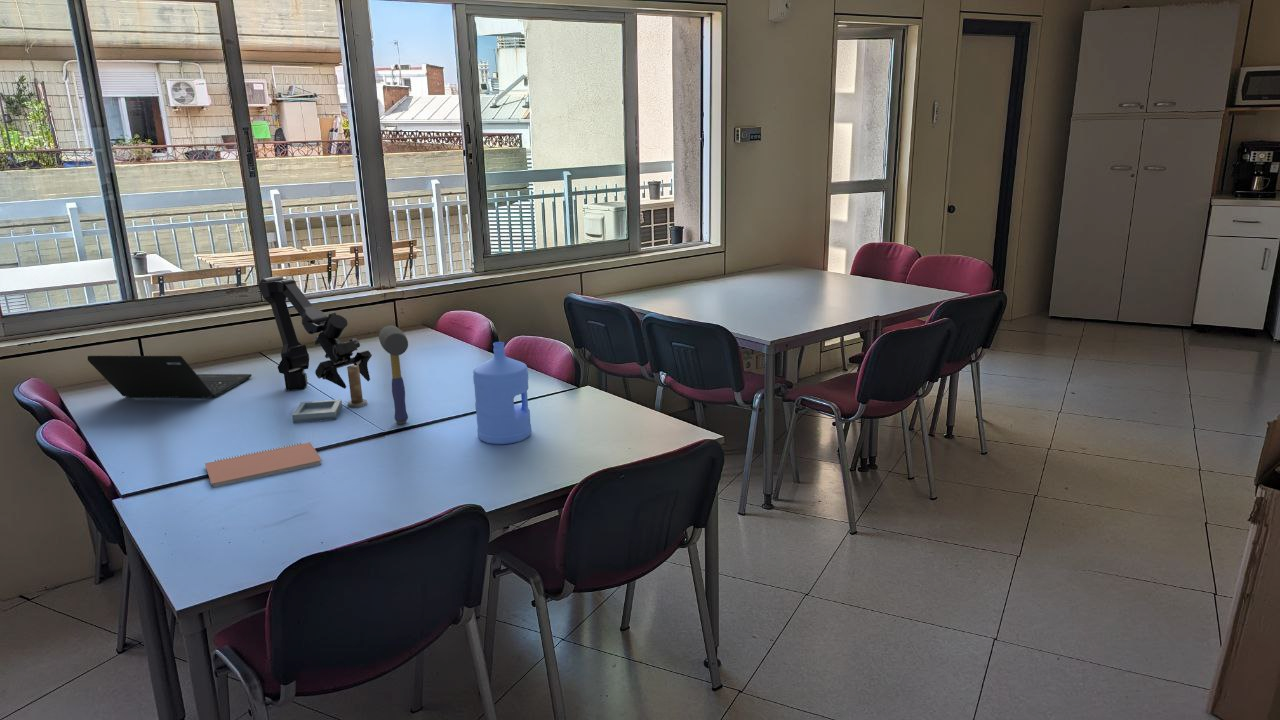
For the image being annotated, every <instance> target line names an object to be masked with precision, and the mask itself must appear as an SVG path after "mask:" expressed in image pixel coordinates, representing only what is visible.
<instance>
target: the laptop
mask: <svg viewBox="0 0 1280 720" xmlns="http://www.w3.org/2000/svg"><path fill="white" fill-rule="evenodd" d="M87 362H89V364H91V366H92V367H94V368H95V370H96V371H97V372H98V373H100V375H101V376H102V377H103V378H105V380H106V381H107V382H108V383H109V384H110V385H111V386H112V387H113V388H114V389H116V391H117V392H118V393H119V394H120V395H121V396H122V397H126V398H191V399H192V398H197V399H198V398H200V399H201V398H202V399H203V398H205V399H206V398H210V399H212V398H216V397H218V396H220V395H222V394H223V393H226V392H227V391H229V390H232V389H233V388H234V387H236V386H238V385H240V384H241V383H243V382H245V381H247V380H248V379H250V378H252V373H250V374H247V373H239V374H237V373H235V374H233V373H231V374H229V373H228V374H227V373H226V374H224V373H223V374H222V373H221V374H219V373H217V374H216V373H207V374H204V373H196V372H195V370H194V369H193V368H192V366H190V365H189V363H188V362H187V361H186V360H185V358H183V356H182V355H87Z"/></svg>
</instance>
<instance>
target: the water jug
mask: <svg viewBox="0 0 1280 720" xmlns="http://www.w3.org/2000/svg"><path fill="white" fill-rule="evenodd" d="M492 345H493V350H492V351H493V357H492V358H489V359H488V360H486V361H483V362H481V363H478V365H476V366H475V367H474V368H473V371H472V373H473V375H472V378H473V381H472V382H473V386H474V397H475V403H474V404H475V405H474V406H475V412H476V413H475V414H476V423H477V429H476V430H477V431H476V432H477V437H478V439H479V440H481V442H484V443H487V444H491V445H509V444H510V445H511V444H514V443H515V444H516V443H519V442H521V441H524V440H526V439H527V438H529V436H530V435H531V433H532V425H531V410H530V408H529V403H528V402H529V401H528V399H529V398H528V390H529V371H528V366H527V364H526V363H524V362H522V361H520V360H516V359H514V358H511V357H508V356H506V354H505V353H506V349H505V342H504V341H503V342H502V341H495V342H493V343H492ZM519 395H520V397H521V404H516V403H515V402H514V401H515V400H514V399H515V397H516V396H519Z"/></svg>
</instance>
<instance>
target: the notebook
mask: <svg viewBox="0 0 1280 720" xmlns="http://www.w3.org/2000/svg"><path fill="white" fill-rule="evenodd" d="M321 462H323V459H322V457H321V456H320V455H319V453H318V452H317V450H316V448H315V447H314V446H313V444H312V442H310V441H309V442H305V443H302V442H299V443H294V444H291V445H290V444H289V445H286V446H285V445H284V446H281V447H279V446H278V447H275V448H270V449H267V450H266V449H265V450H262V451H261V450H259V451H256V452H255V451H253V452H251V453H248V454H247V453H245V454H244V453H243V454H240V455H237V456H236V455H235V456H231V457H230V456H228V457H225V458H220V459H217V460H216V459H214V461H211V462H205V463H204V466H205V468H206V472H207V474H208V477H209V482H210V484H211V485H212V486H213V488H217V487H222V486H228V485H232V484H236V483H242V482H246V481H250V480H255V479H259V478H264V477H269V476H273V475H278V474H283V473H288V472H292V471H296V470H301V469H306V468H311V467H315V466H319V465H321Z"/></svg>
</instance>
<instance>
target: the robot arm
mask: <svg viewBox="0 0 1280 720" xmlns="http://www.w3.org/2000/svg"><path fill="white" fill-rule="evenodd" d="M258 289H259V292H260V293H261V296H262V297H263V299H264V300H265V301H266V302H267V303H269V305H270V307H271V310H272V313H273V317H274V320H275V323H276V326H277V329H278V332H279V336H280V339H281V342H282V347H281V352H280V356H281V357H280V358H281V360H280V362H279V364H278V365H277V370H278V372H279V374H283V378H284V385H285V388H284V391H299V390H305V389H306V388H307V386H308V384H309V382H308V376H307V373H306V372H305V370H308V369H309V366H310V353H308V348H307V346H306V344H302V343H301V342H300V341H299V339H298V337H297V333H296V329H295V327H294V324H293V320H292V317H291V315H290V311H289V307H288V305H287V301H286V300H288V302H290V304H291V305H292V306H293V308H294V309H295V310H296V312H297V313H298V314H299V315H300V317H301V324H302V326H303V328H304V330H305V331H306V332H307V333H308V334H309V335H315V334H318V335H317V336H315V341H314V345H316V346H318V345H319V346H320V347H321V349H323V351H324V353H325V355H324V357H325V359H329V360H325V361H321V362H319V364H318V365H317V367H316V368H315V372H314V373H315V376H316V377H317V378H318V380H319V379H322V380H327V381H330V382H331V383H333V384H334V385H335V384H336V385H337V386H339V387H340V388H343V389H346V388H347V385H346V383H345V381H344V380H343V379H342V377H341V375H340V373H339V372H338V369H340V368H343V367H348V366H351V365H358V366H359V371H360V376H362V377H363V378H364V379H365V381H367V382H370V380H371V377H370V371H369V369H368V362H369V361H370V359H371V357H372V356H373V354H372V353H371V351H370V350H367V349H364V350H361V351H358V348H360V347H361V344H360V341H359V340H358V339H357V337H355V338H351V339H349V340H348V342H341V341H340V340H339V339H340V337H342V335H343V333H344V331H345V329H346V328H347V326H348V320H347V319H346V317H344V316H342V315H340V314H337V313H336V312H335V311H334V312H331V313H329V314H328V316H327V315H326V314H325V312H324V311H322V310H320V309H318V308H316V307H314V306H313V304H312V303H311V302H310V301H309V299H308V298H307V297H306V295H305V294H304V293H303V291H302V290H301V289H300V287H299V286H298V284H297V282H296V280H295V279H293V278H283V277H282V276H280V275H277V276H272V277H270V276H269V277H267V278H262V279H260V282H259V283H258ZM355 351H357V352H356V354H355V356H354V357H351V356H353V354H354V353H353V352H355Z"/></svg>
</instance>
